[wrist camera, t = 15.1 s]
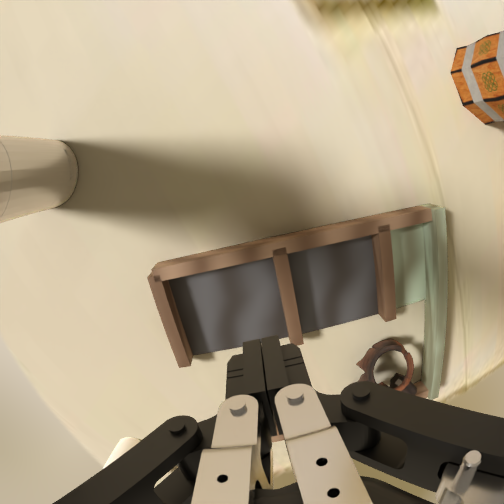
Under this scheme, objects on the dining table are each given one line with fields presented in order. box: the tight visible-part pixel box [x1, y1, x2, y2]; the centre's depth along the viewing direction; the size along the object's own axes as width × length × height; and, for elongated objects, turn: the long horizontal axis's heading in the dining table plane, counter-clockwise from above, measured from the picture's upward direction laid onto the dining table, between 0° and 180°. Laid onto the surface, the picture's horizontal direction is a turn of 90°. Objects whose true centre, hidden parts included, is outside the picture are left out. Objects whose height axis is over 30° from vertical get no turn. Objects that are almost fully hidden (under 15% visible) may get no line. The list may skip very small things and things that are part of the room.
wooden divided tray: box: [147, 204, 448, 442], centre depth 41 cm, size 38×31×4 cm
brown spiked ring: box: [356, 339, 417, 395], centre depth 43 cm, size 12×10×8 cm
